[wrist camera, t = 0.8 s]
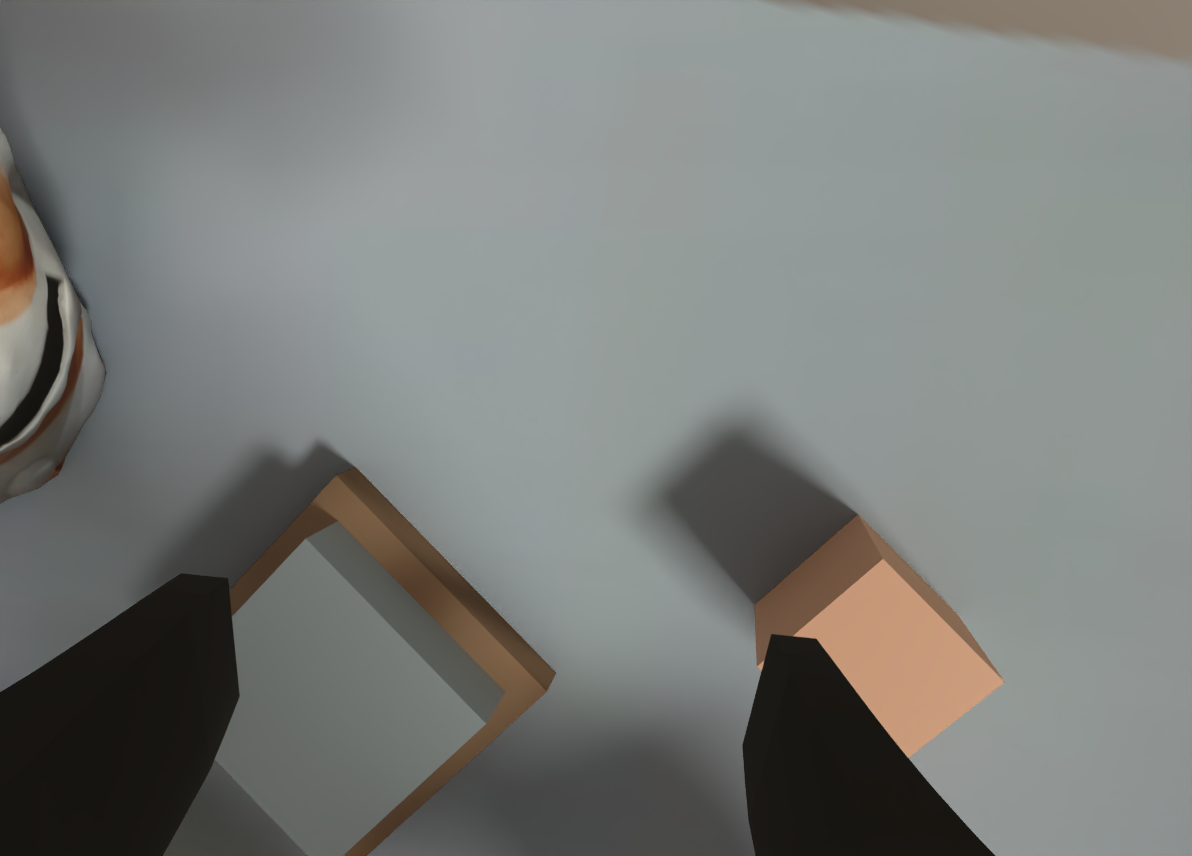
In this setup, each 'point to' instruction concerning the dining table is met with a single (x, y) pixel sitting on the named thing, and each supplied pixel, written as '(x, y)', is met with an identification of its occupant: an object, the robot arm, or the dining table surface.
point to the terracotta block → (881, 634)
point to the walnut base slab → (437, 594)
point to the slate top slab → (344, 694)
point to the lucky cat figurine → (38, 346)
